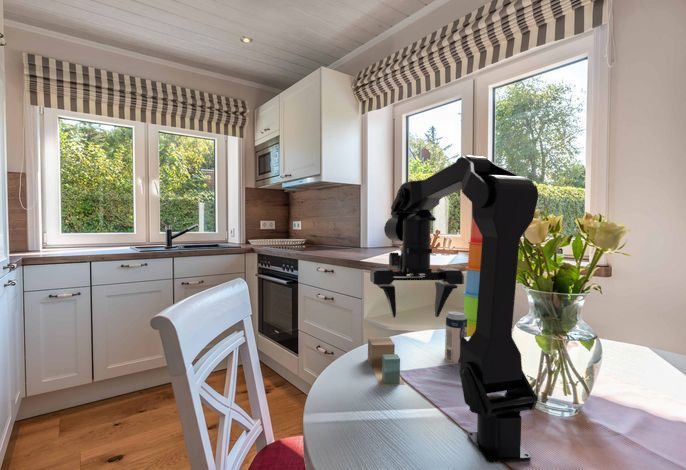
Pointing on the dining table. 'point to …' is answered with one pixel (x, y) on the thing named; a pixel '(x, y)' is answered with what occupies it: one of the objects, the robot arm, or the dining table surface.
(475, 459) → the dining table surface
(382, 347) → the walnut cube
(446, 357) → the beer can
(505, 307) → the robot arm
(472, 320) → the stacking cups
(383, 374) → the green toy block
